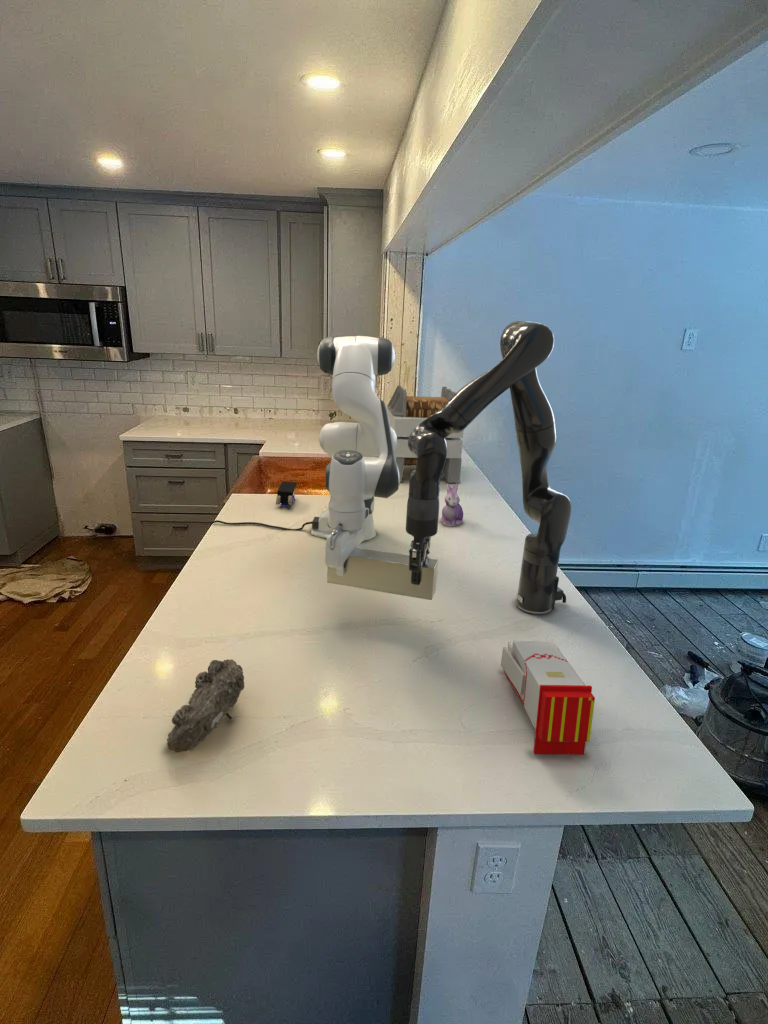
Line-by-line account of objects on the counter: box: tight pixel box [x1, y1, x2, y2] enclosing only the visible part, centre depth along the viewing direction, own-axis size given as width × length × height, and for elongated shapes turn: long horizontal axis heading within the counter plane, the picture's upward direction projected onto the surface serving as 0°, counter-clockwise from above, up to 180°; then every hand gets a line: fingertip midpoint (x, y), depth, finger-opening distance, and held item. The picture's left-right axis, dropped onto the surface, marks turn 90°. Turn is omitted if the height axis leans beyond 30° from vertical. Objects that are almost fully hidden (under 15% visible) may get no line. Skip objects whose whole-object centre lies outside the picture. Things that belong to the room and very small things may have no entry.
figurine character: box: [275, 480, 298, 509], centre depth 223 cm, size 7×8×15 cm
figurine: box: [440, 483, 464, 527], centre depth 210 cm, size 9×10×15 cm
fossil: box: [166, 658, 245, 754], centre depth 106 cm, size 22×10×15 cm
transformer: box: [386, 384, 465, 484], centre depth 268 cm, size 34×33×41 cm
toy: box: [500, 640, 596, 756], centre depth 114 cm, size 12×13×30 cm
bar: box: [326, 547, 439, 601], centre depth 140 cm, size 27×5×8 cm, turn 74°
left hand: (345, 569), depth 143 cm, fingers closed on bar, 5 cm apart
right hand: (418, 578), depth 138 cm, fingers closed on bar, 5 cm apart
